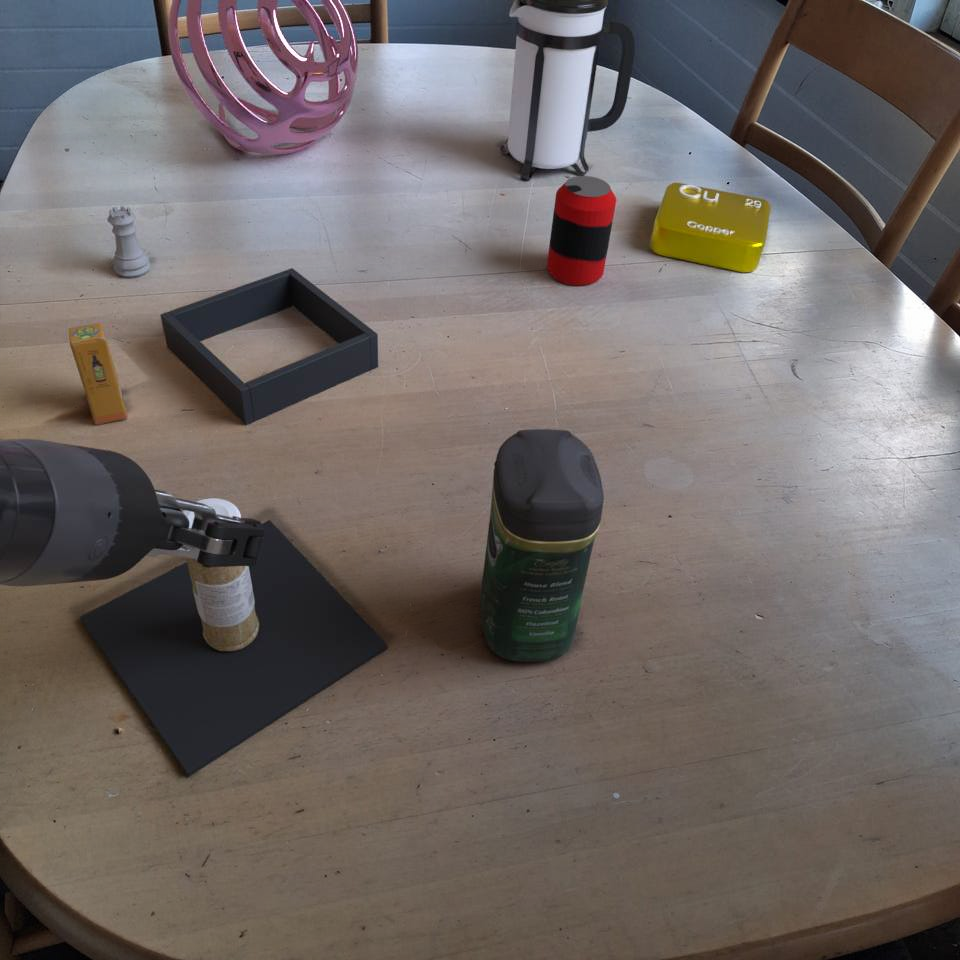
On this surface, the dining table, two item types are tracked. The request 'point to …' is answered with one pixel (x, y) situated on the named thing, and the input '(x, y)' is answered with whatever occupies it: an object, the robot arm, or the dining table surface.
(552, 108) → the coffee press
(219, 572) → the sprinkles bottle
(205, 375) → the dark grey square frame
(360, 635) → the mat
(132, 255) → the rook chess piece
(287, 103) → the spiral basket
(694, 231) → the element tile
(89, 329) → the supplement box
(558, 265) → the soda can
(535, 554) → the coffee jar
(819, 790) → the dining table surface
